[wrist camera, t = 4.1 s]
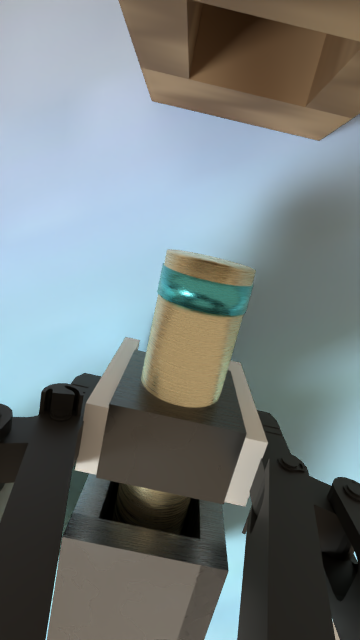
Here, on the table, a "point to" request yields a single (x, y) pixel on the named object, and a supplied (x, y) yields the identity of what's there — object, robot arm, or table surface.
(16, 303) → the table surface
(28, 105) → the table surface
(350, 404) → the table surface
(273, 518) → the robot arm
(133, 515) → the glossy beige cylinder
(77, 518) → the sleeve
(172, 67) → the tan box
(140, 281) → the table surface
